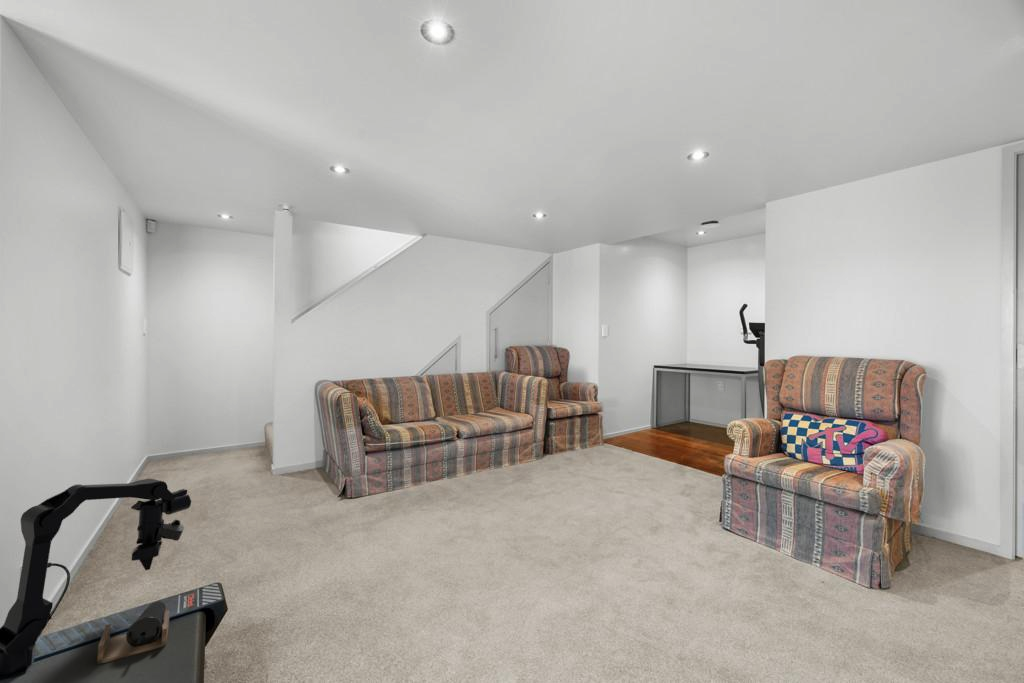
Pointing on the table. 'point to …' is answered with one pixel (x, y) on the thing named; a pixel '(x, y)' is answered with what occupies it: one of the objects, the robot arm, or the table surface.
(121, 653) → the cup rest
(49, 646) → the table surface
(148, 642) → the drinking cup
